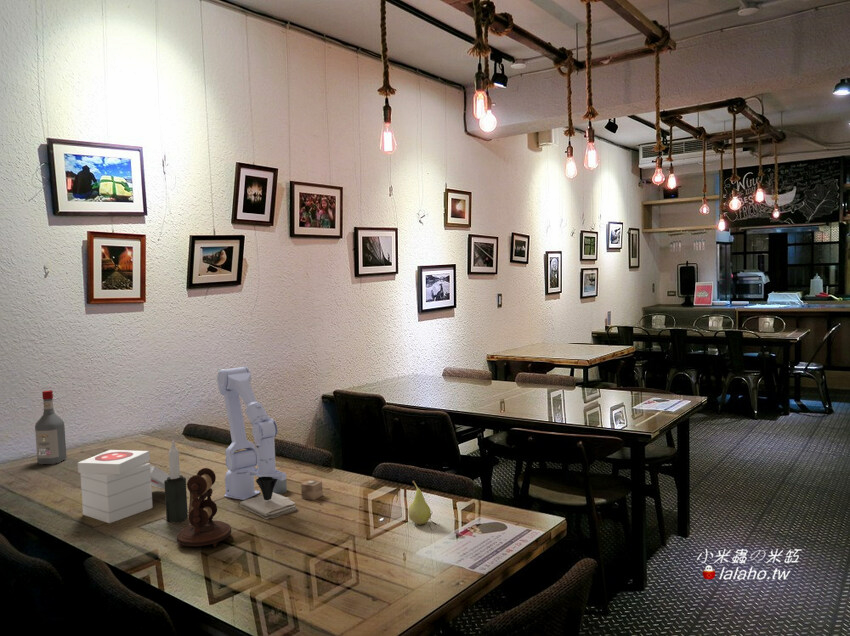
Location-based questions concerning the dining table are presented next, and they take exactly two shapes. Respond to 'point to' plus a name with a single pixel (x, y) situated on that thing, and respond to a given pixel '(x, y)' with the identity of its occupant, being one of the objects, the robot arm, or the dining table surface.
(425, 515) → the fruit
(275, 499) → the washcloth
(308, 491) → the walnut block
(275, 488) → the slate cylinder
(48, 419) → the liquor
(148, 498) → the pizza boxes
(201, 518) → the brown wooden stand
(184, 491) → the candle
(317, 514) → the dining table surface
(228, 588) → the dining table surface
